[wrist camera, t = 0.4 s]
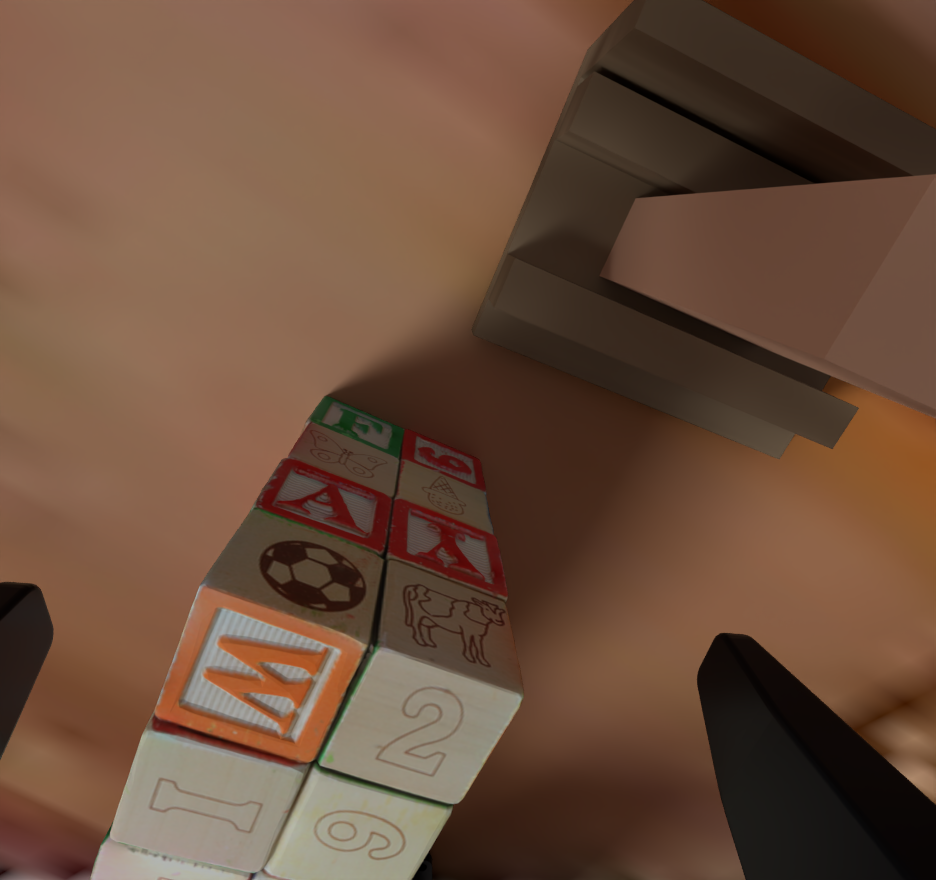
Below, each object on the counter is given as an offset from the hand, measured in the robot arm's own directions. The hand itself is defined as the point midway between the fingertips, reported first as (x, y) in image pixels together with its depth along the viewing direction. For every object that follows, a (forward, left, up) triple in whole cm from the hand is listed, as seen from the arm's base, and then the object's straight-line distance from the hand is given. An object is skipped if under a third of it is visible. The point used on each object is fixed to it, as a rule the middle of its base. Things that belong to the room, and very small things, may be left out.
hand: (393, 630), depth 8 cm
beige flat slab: (+4, -9, -13) cm, 16 cm away
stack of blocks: (-12, +5, -14) cm, 19 cm away
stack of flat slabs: (+4, -9, -14) cm, 17 cm away
